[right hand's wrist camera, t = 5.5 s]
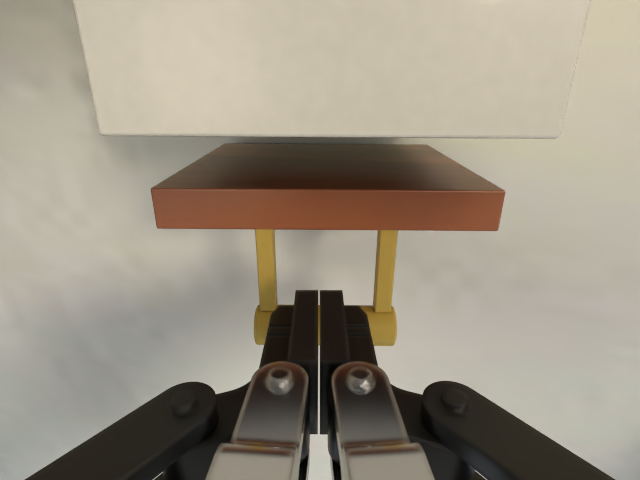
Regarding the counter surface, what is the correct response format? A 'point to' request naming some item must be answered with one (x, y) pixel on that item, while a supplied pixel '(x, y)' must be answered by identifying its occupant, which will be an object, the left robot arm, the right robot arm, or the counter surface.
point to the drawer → (328, 204)
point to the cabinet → (331, 67)
